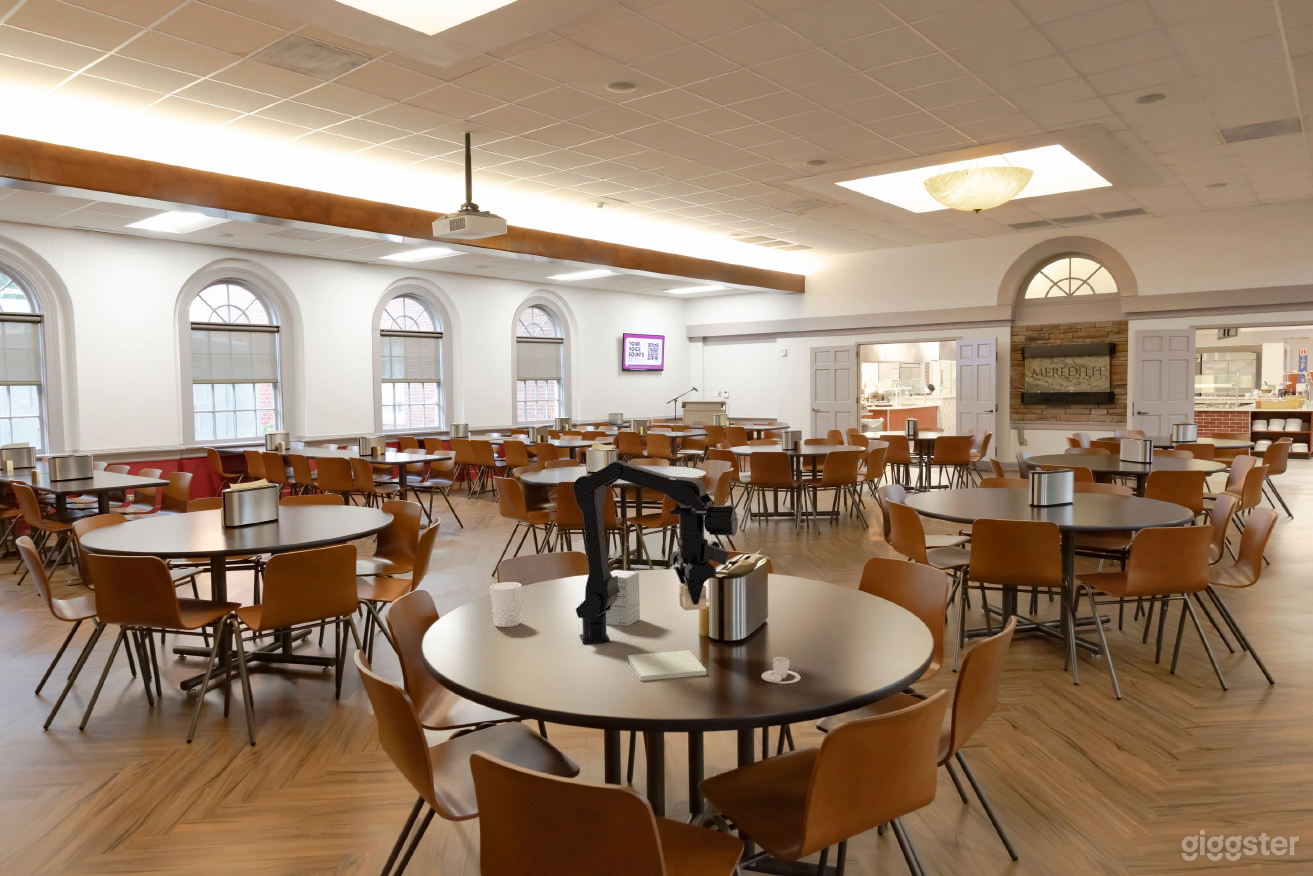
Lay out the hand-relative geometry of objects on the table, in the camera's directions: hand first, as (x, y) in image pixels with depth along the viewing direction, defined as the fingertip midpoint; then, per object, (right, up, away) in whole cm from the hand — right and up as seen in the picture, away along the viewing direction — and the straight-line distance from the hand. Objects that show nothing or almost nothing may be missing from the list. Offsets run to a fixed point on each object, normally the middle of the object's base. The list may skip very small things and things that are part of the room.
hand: (692, 601), depth 189 cm
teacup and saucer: (+14, -12, -19) cm, 26 cm away
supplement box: (-17, -10, +24) cm, 32 cm away
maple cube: (0, -1, 0) cm, 1 cm away
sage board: (-6, -12, -12) cm, 18 cm away
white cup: (-47, -11, +24) cm, 54 cm away
